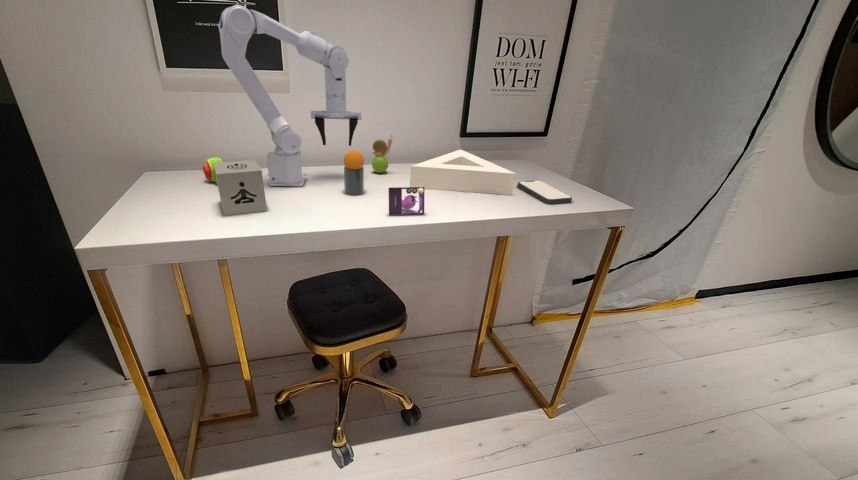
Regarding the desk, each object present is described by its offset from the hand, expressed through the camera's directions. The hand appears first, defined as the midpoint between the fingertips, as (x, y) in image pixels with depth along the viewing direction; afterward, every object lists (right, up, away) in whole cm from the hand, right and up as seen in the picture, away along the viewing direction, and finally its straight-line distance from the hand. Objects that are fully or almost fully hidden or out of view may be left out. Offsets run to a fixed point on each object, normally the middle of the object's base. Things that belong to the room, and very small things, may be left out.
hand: (337, 144), depth 118 cm
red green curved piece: (-37, -10, +1) cm, 38 cm away
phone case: (+61, -16, -2) cm, 63 cm away
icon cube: (-21, -22, -19) cm, 36 cm away
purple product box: (+20, -24, -18) cm, 36 cm away
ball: (+6, -11, -9) cm, 15 cm away
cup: (+6, -16, -6) cm, 18 cm away
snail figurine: (+13, -5, +12) cm, 18 cm away
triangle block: (+34, -11, +4) cm, 36 cm away
